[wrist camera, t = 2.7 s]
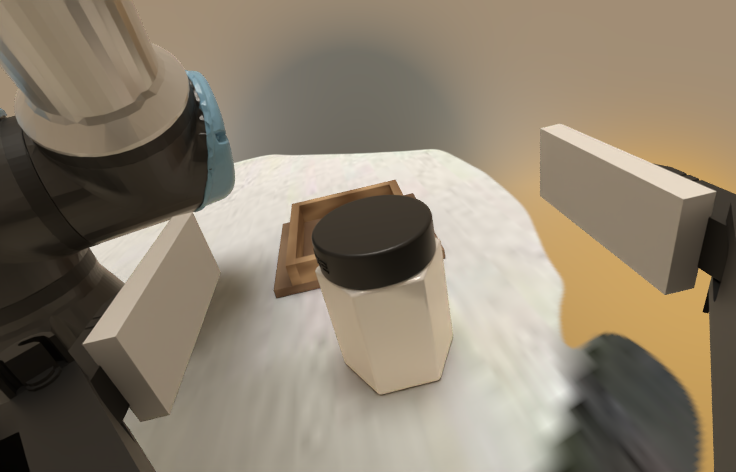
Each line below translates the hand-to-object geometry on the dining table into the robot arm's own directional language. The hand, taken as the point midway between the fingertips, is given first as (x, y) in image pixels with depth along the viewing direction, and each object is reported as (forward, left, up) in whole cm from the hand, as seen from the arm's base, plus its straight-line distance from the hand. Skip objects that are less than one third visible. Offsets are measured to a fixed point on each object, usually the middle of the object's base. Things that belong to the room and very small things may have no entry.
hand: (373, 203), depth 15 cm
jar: (0, +10, -18) cm, 21 cm away
